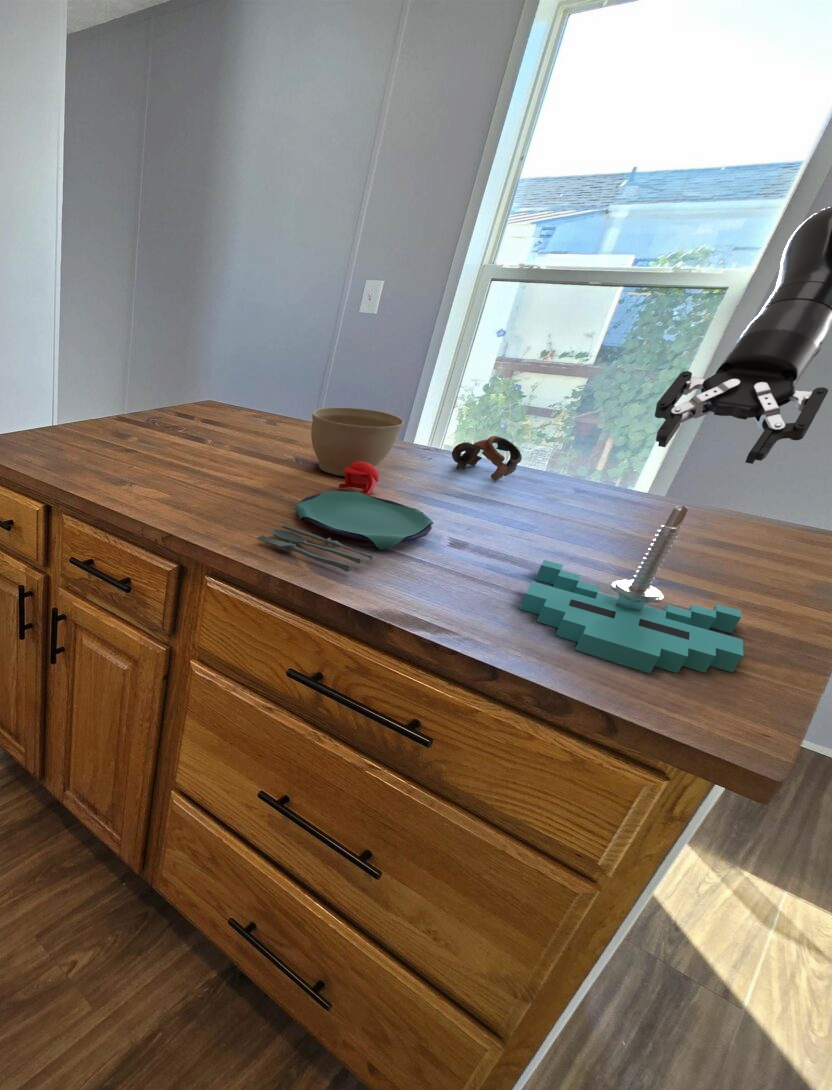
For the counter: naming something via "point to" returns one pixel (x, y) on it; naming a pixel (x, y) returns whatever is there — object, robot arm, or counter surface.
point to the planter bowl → (352, 437)
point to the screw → (650, 566)
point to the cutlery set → (352, 524)
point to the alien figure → (633, 626)
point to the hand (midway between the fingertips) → (704, 451)
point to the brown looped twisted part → (488, 455)
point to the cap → (361, 477)
